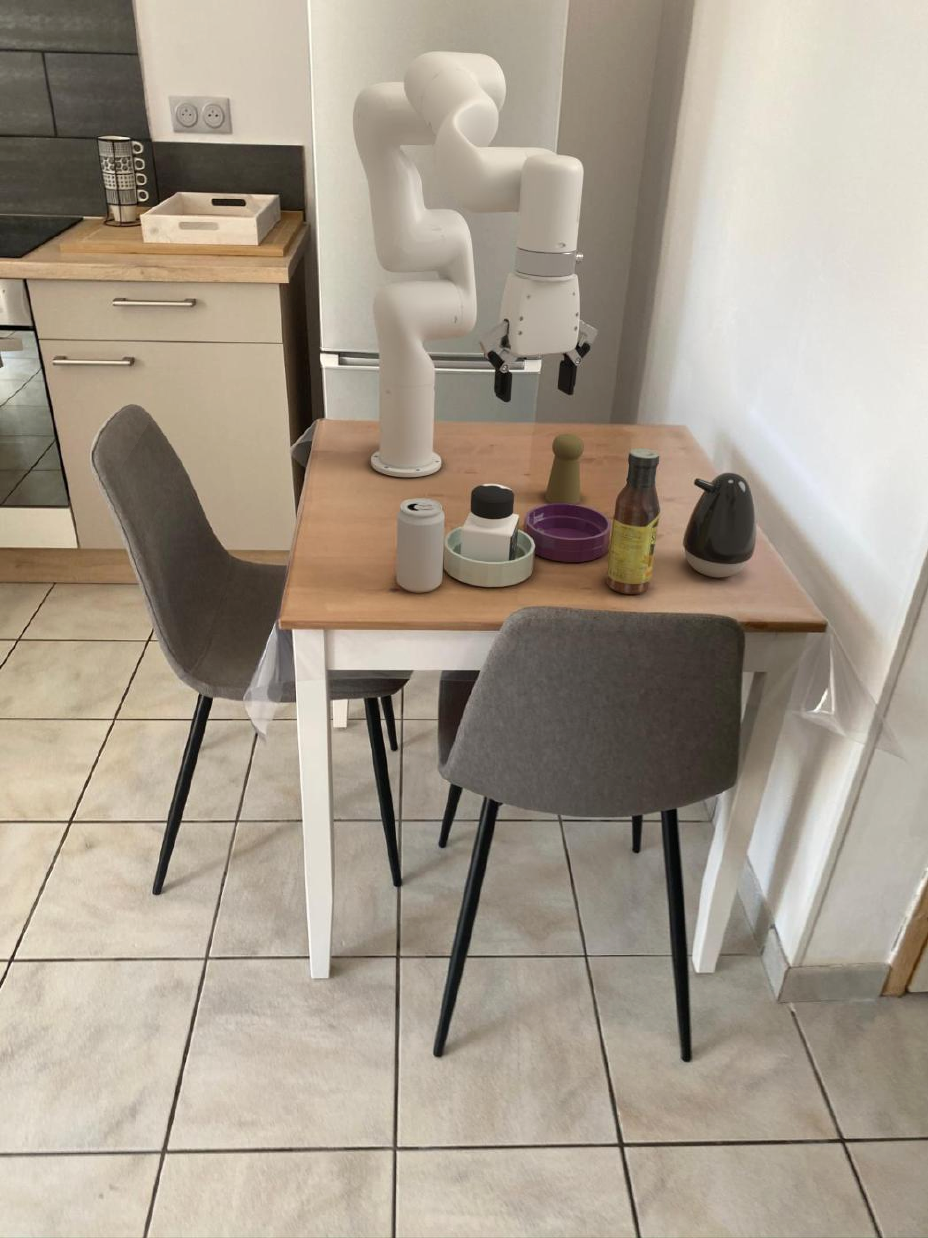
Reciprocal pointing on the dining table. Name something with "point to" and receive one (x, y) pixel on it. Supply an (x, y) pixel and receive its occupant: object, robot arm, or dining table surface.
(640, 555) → the sauce bottle
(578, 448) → the olive chess pawn
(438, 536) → the beverage can
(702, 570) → the pump dispenser
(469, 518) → the medicine bottle
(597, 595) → the dining table surface
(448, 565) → the pale bowl
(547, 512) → the plum bowl
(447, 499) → the dining table surface
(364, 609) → the dining table surface
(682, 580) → the dining table surface
